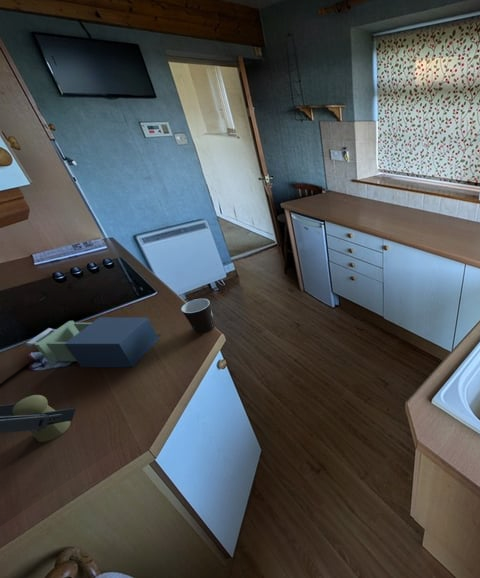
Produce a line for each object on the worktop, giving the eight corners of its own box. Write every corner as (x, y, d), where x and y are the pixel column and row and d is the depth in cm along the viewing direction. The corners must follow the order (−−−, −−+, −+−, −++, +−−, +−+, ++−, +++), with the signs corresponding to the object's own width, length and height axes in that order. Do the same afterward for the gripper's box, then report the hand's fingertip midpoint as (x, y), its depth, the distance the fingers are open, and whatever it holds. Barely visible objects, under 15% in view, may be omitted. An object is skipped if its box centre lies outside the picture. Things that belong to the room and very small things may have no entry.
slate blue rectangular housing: (81, 367, 89) (63, 343, 84) (113, 339, 100) (99, 317, 95) (133, 367, 90) (118, 343, 85) (159, 339, 101) (147, 317, 95)
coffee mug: (213, 334, 103) (204, 311, 98) (187, 336, 102) (176, 313, 97) (223, 315, 113) (215, 293, 108) (199, 316, 112) (190, 295, 106)
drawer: (30, 363, 89) (14, 344, 85) (64, 338, 99) (51, 320, 95) (98, 363, 90) (85, 344, 86) (125, 338, 99) (114, 320, 95)
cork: (33, 432, 71) (3, 404, 66) (66, 415, 76) (40, 386, 70) (40, 447, 69) (8, 418, 63) (73, 427, 73) (47, 398, 67)
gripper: (-174, 449, 50) (-6, 423, 70) (-46, 465, 48) (89, 433, 68) (-153, 403, 52) (6, 390, 72) (-28, 416, 50) (98, 399, 70)
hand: (46, 411), depth 70 cm, fingers open, 13 cm apart
